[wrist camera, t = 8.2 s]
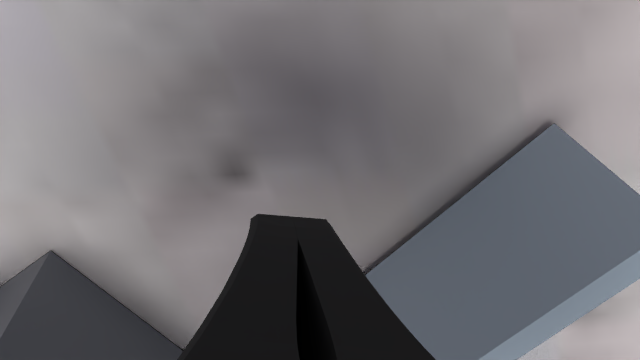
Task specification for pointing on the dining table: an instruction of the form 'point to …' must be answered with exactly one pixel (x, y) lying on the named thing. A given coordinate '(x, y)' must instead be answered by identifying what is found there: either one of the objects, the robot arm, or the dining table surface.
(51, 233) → the dining table surface
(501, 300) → the side door
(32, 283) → the box
